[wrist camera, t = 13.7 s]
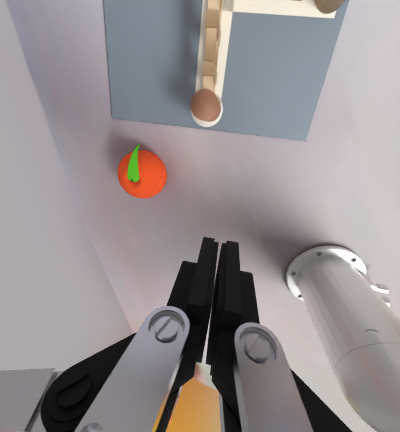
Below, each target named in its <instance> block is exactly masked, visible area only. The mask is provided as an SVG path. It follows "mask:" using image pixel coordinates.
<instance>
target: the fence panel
mask: <svg viewBox="0 0 400 432" xmlns="http://www.w3.org/2000/svg"><path fill="white" fill-rule="evenodd" d="M222 3H223V0H208V10H206V18H205V28H206V44H205V60H204V61H203V69H202V76H203V89H200V90H198V91H197V92H196V93H195V94H194V95H193V97H192V99H191V111H192V113H193V115H194V116H195V117H196V118H197V119H199V120H203V121H207V122H212V121H215V120H216V119H217V118H218V117H219V115H220V112H221V106H220V103H219V101H218V99H217V97H216V95H215V86H216V83H217V62H218V51H219V45H220V37H221V29H220V27H221V15H222Z"/></svg>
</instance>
